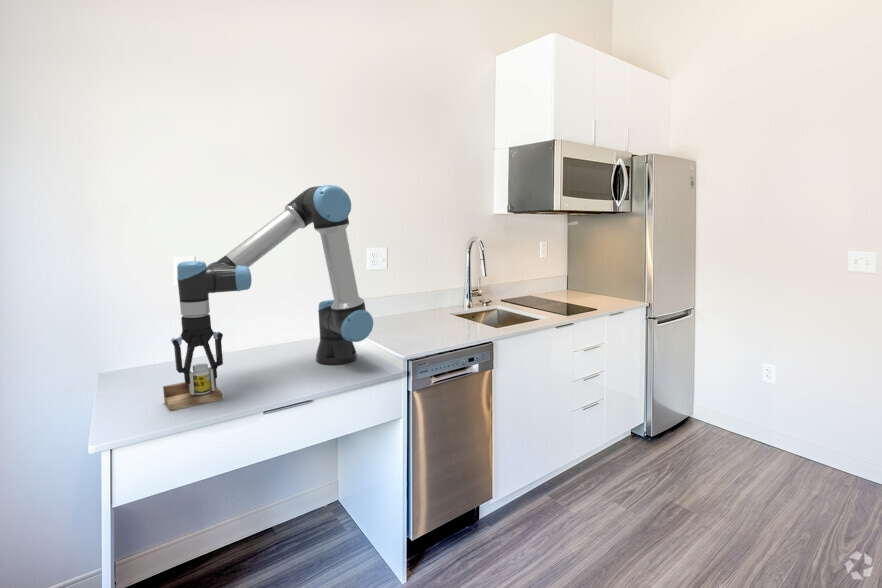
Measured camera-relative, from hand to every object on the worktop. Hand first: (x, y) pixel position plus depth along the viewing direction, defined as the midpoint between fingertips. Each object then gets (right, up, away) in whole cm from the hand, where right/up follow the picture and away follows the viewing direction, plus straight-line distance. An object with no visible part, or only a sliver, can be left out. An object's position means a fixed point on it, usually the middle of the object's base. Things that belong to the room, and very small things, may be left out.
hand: (202, 391), depth 141 cm
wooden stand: (-2, -3, 0) cm, 4 cm away
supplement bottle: (0, 0, 0) cm, 1 cm away
